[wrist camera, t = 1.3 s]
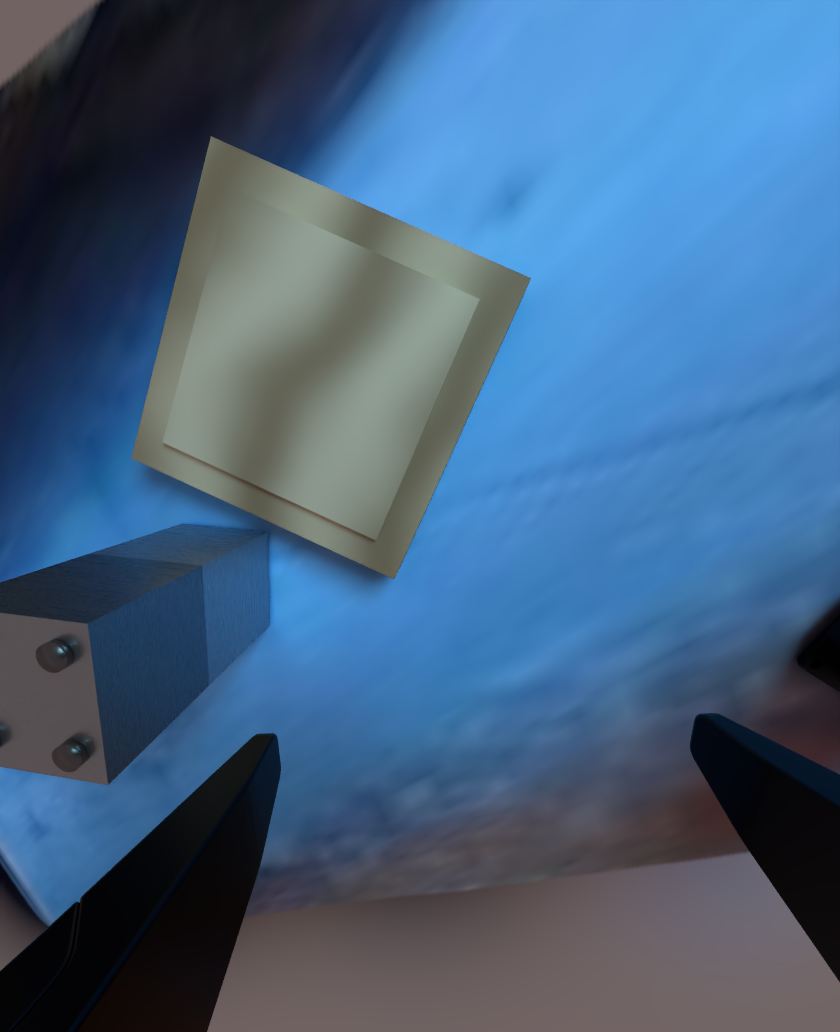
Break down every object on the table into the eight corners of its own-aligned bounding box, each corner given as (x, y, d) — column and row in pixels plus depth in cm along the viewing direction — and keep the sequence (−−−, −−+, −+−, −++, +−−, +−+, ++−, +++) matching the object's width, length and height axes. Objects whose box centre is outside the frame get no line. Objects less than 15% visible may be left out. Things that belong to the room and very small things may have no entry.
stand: (523, 295, 18) (531, 275, 15) (400, 565, 21) (393, 581, 19) (238, 168, 18) (206, 130, 16) (162, 455, 21) (126, 458, 19)
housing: (268, 531, 21) (77, 629, 11) (270, 625, 23) (99, 793, 12) (182, 523, 22) (-81, 608, 11) (188, 615, 23) (-45, 768, 13)
